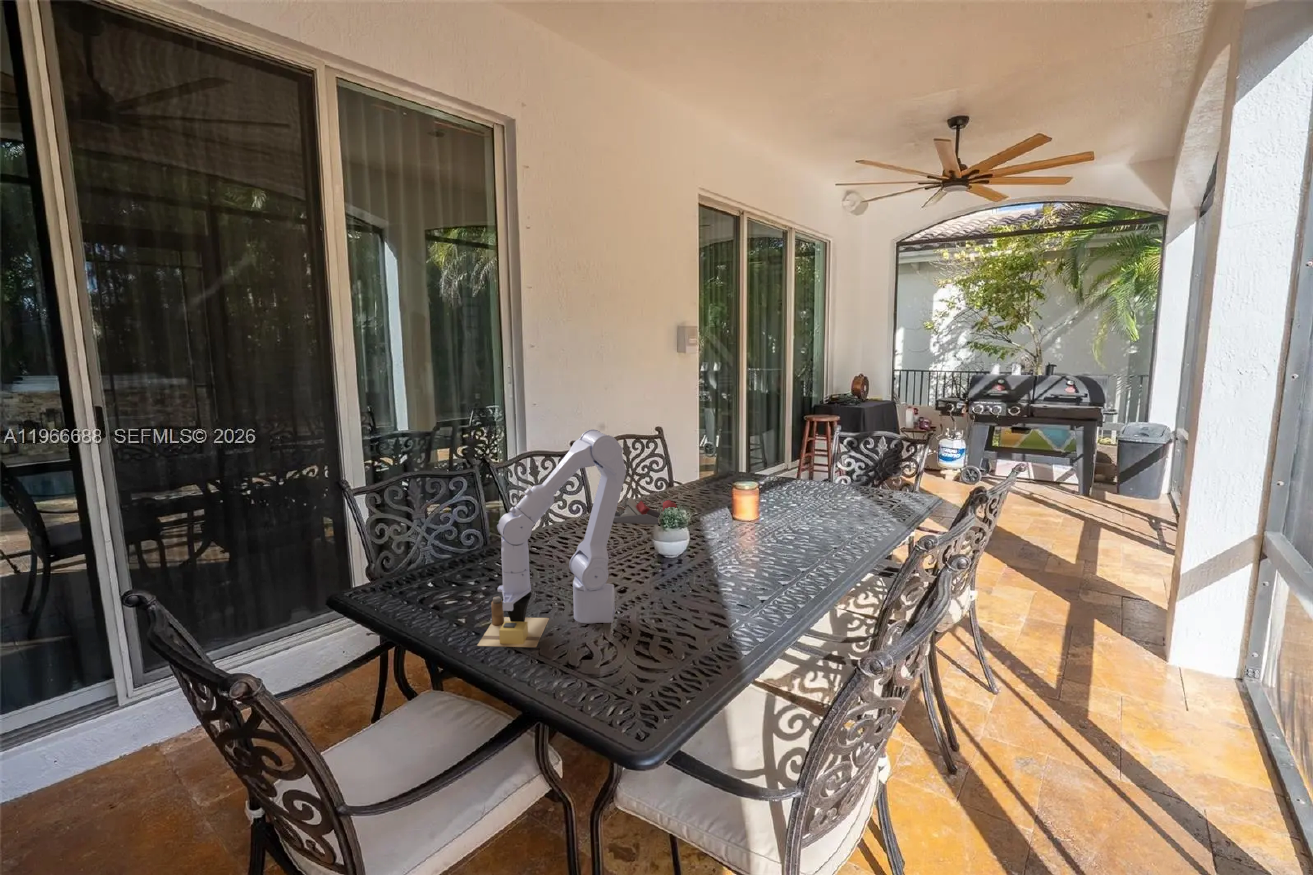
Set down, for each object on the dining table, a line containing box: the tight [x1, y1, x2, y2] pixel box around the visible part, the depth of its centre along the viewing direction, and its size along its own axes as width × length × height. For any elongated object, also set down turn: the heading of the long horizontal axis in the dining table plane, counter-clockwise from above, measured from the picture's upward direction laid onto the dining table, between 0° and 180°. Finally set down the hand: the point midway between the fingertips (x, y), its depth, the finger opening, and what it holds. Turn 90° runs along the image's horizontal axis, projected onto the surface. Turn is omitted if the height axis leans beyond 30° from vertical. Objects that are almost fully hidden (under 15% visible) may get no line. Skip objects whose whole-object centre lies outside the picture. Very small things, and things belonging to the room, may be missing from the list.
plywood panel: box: [476, 616, 550, 648], centre depth 134 cm, size 12×13×1 cm
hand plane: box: [589, 496, 678, 525], centre depth 215 cm, size 7×31×15 cm, turn 83°
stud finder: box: [499, 621, 528, 644], centre depth 131 cm, size 5×4×3 cm
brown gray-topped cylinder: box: [490, 595, 505, 626], centre depth 137 cm, size 3×3×6 cm
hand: (518, 627), depth 134 cm, fingers closed
